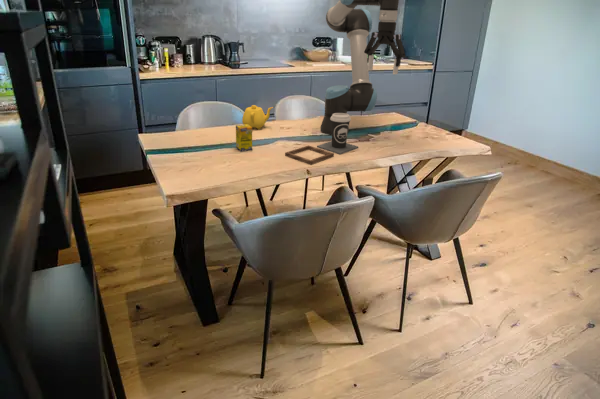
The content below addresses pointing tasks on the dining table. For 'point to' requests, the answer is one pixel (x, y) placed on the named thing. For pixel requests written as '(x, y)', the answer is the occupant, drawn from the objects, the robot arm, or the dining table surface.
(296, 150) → the frame
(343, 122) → the coffee cup
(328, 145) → the coaster
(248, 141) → the supplement box
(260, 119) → the teapot
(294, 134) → the dining table surface
